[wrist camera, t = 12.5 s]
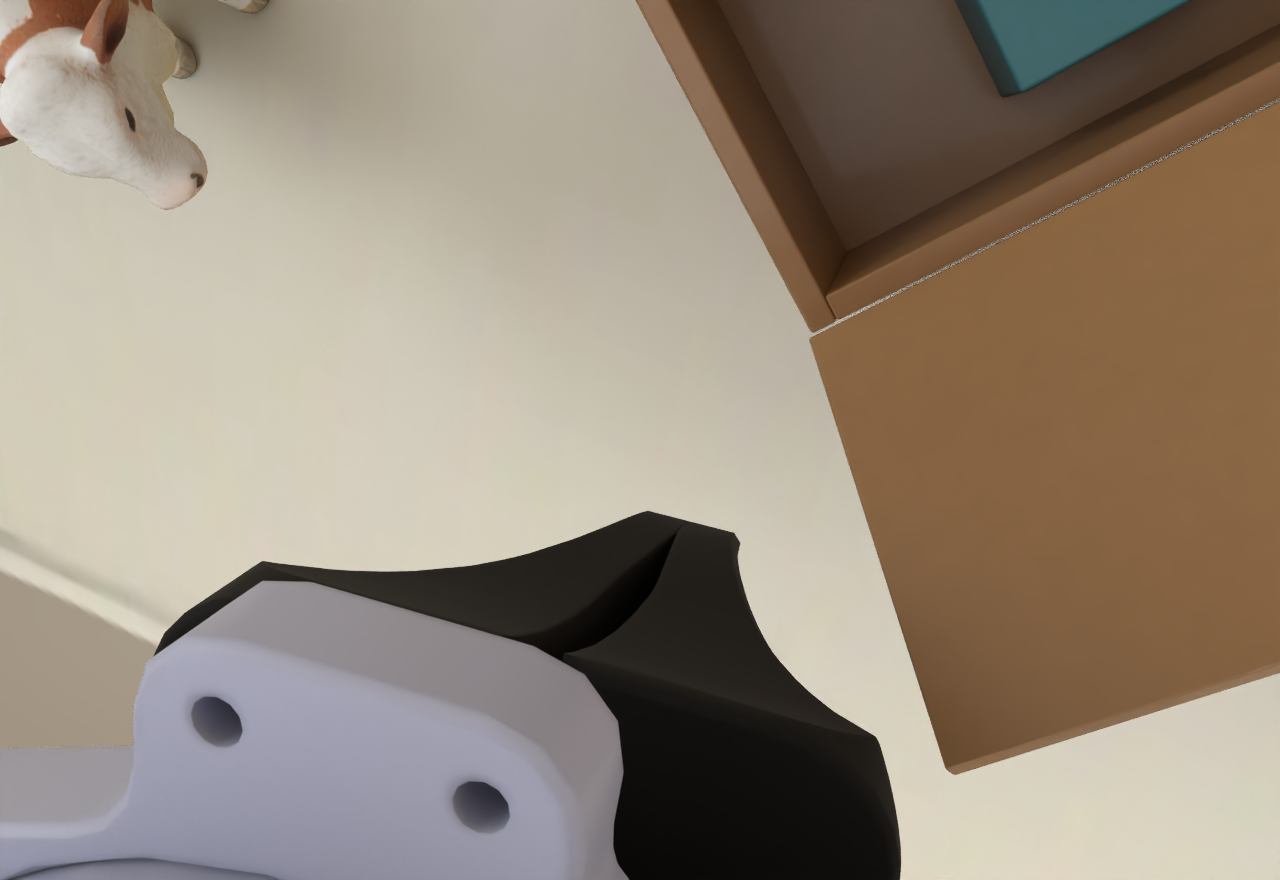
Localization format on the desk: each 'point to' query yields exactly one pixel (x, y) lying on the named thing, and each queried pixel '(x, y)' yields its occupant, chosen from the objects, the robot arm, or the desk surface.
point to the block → (1050, 34)
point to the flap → (1081, 454)
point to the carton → (935, 125)
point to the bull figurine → (100, 92)
